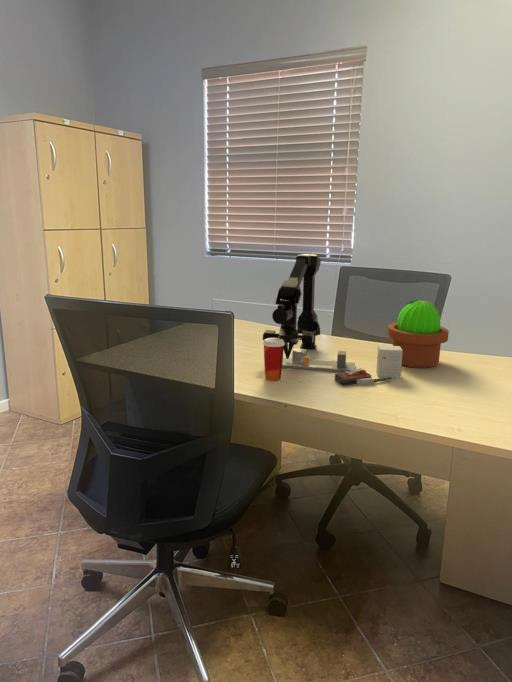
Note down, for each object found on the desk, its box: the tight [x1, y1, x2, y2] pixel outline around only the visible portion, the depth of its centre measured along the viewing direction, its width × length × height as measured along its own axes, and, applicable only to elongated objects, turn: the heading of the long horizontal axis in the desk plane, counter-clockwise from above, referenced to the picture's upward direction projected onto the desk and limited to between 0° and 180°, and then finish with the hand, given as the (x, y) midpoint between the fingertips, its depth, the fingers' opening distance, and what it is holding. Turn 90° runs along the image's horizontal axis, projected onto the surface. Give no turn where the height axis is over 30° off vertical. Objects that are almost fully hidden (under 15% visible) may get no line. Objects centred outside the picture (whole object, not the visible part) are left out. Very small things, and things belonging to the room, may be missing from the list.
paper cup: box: [262, 338, 285, 382], centre depth 182 cm, size 8×8×14 cm
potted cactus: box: [387, 299, 450, 369], centre depth 202 cm, size 22×22×25 cm
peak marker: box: [303, 355, 310, 366], centre depth 194 cm, size 2×2×3 cm
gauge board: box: [282, 350, 356, 374], centre depth 197 cm, size 10×30×6 cm, turn 79°
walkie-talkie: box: [334, 368, 393, 387], centre depth 182 cm, size 9×4×20 cm
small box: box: [376, 345, 403, 379], centre depth 187 cm, size 8×6×10 cm
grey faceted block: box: [291, 347, 308, 364], centre depth 196 cm, size 7×5×4 cm, turn 169°
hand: (287, 358), depth 199 cm, fingers closed
